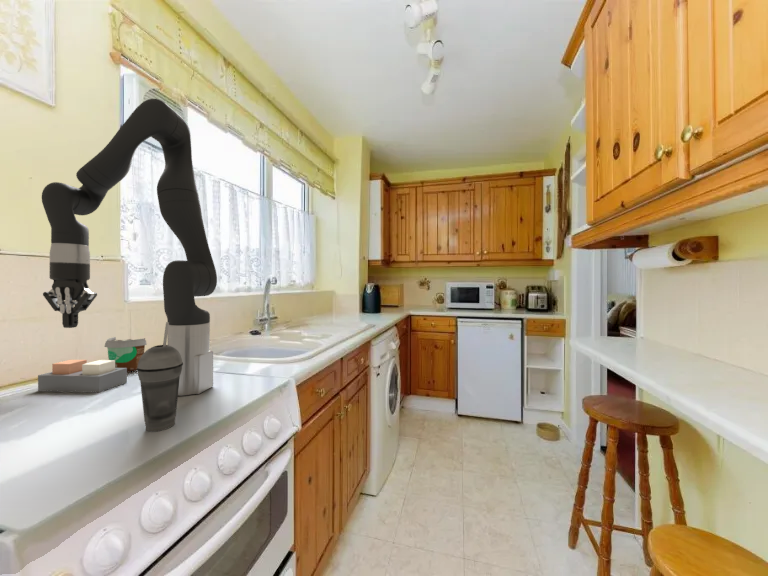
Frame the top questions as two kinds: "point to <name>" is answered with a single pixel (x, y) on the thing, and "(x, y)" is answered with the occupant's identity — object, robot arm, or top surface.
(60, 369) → the terracotta key
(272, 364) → the top surface
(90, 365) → the cream key
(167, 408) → the beverage cup
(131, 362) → the food container
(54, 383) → the key console
